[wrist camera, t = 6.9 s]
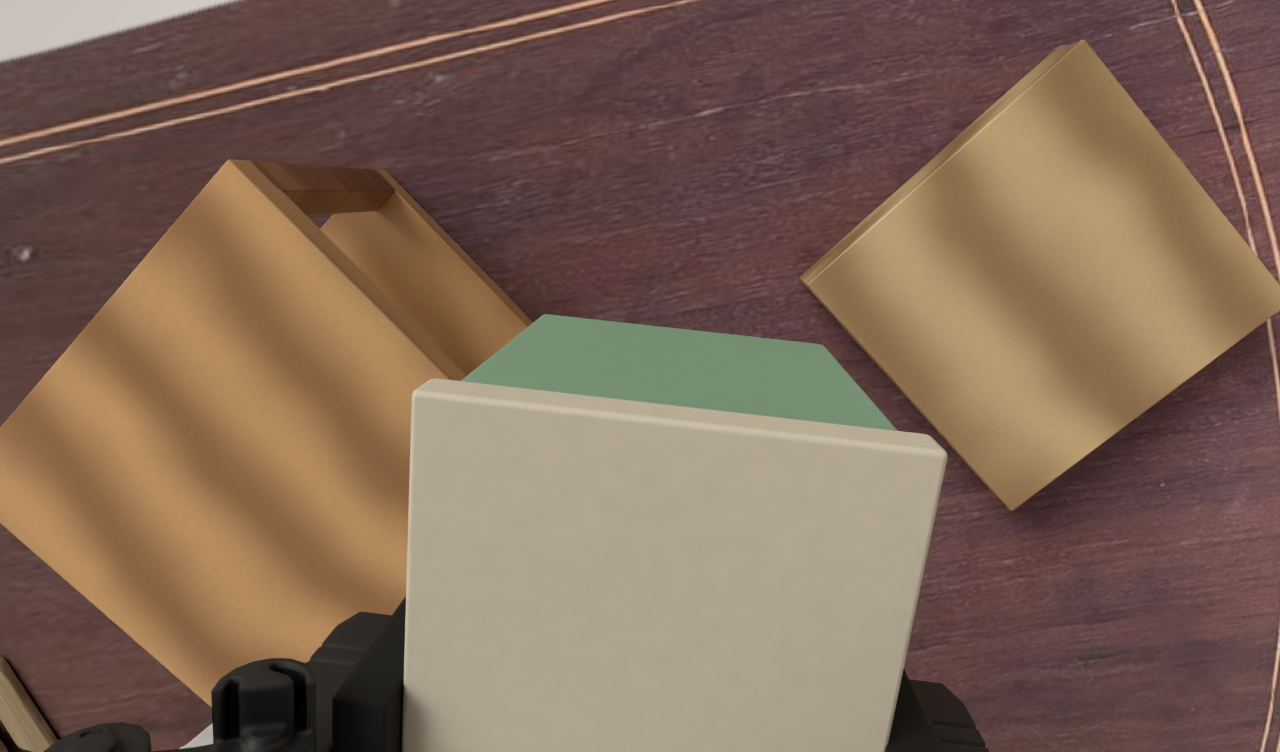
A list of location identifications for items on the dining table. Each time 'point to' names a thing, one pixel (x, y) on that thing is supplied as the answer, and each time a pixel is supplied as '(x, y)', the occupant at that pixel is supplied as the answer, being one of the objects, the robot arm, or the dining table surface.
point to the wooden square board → (1045, 277)
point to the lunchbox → (659, 548)
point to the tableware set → (21, 714)
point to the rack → (250, 417)
